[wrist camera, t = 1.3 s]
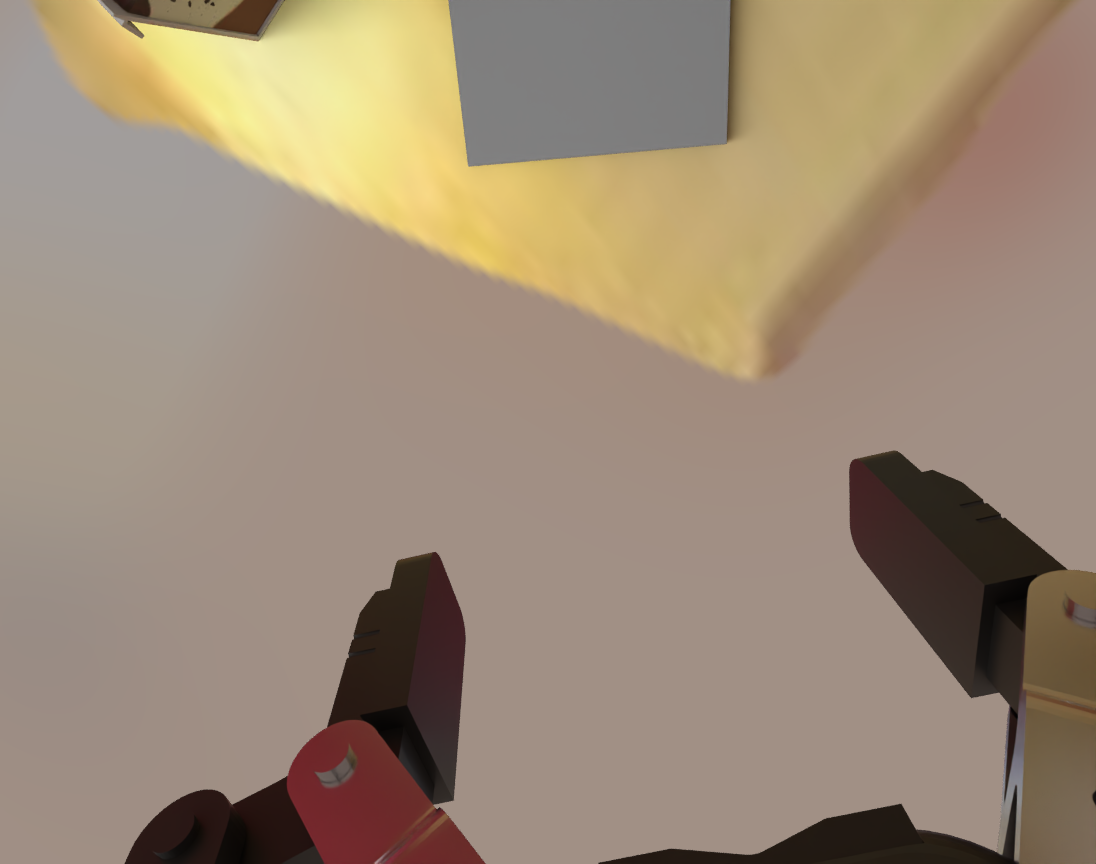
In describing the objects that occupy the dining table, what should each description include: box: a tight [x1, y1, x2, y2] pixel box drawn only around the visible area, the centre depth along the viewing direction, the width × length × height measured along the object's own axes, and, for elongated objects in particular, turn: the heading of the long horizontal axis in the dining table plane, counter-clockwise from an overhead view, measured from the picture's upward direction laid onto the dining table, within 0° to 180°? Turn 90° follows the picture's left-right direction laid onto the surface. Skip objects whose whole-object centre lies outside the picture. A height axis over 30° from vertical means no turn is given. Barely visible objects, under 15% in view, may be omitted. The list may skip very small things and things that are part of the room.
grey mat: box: [449, 0, 730, 166], centre depth 30 cm, size 12×13×1 cm
